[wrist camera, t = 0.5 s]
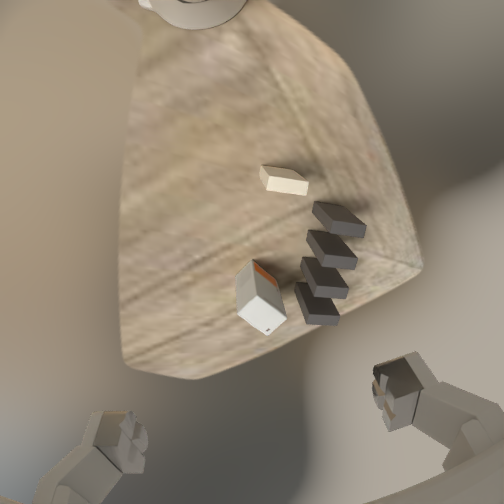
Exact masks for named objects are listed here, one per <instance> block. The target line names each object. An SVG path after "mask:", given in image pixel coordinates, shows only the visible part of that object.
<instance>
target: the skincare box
mask: <svg viewBox="0 0 504 504" xmlns="http://www.w3.org/2000/svg"><path fill="white" fill-rule="evenodd" d="M235 279H236V300H237V314H238V315H239V316H240V317H241V318H243V319H244V320H246V321H247V322H248V323H249V324H250V325H252V326H253V327H255V328H256V329H258V330H259V331H261V332H262V333H264V334H265V335H267V336H269V335H270V334H271V333H272V332H273V331H274V330H275V329H276V328H277V327H278V326H280V325H281V324H282V323H283V322H284V321H285V320H286V319H287V315H286V312H285V308H284V304H283V301H282V297H281V294H280V290H279V287H278V283H277V280H276V279H275V278H273V277H272V276H271V275H270V274H268V273H267V272H266V271H265V270H263V269H262V268H261V267H260V266H259V265H258V264H257V263H255V262H254V261H253V260H251V261H250V262H249V263H248V264H247V265H246V266H245V267H244V268H243V269H242V270H241V271H240V272H239V273H238V274H237V275H236V276H235Z"/></svg>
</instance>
